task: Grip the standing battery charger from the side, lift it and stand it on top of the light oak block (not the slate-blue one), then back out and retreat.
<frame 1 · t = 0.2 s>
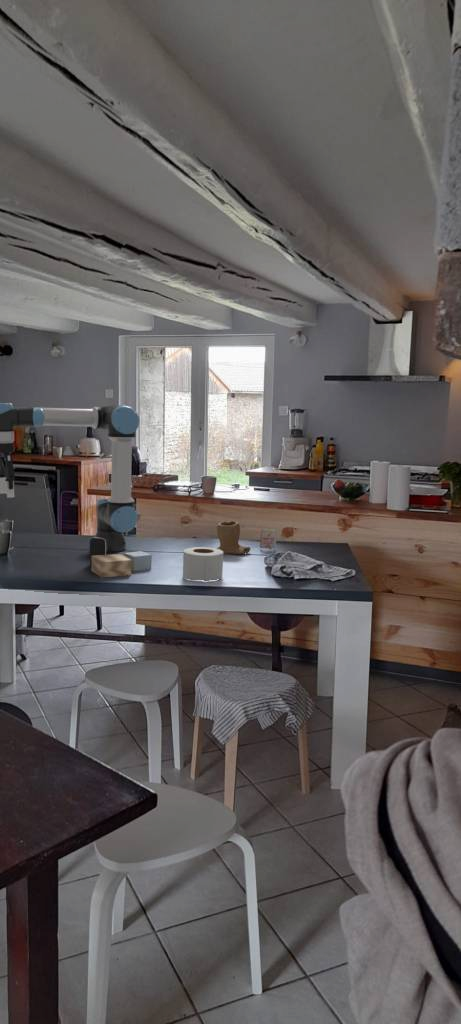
hand: (7, 495, 293), 27 cm above the table, tool pointing down, fingers open, 13 cm apart
oak block: (111, 572, 286), on the table
toilet paper roll: (202, 578, 285), on the table
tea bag: (267, 551, 344), on the table
slate-blue block: (137, 568, 297), on the table
battery charger: (98, 565, 299), on the table
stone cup: (231, 554, 333), on the table
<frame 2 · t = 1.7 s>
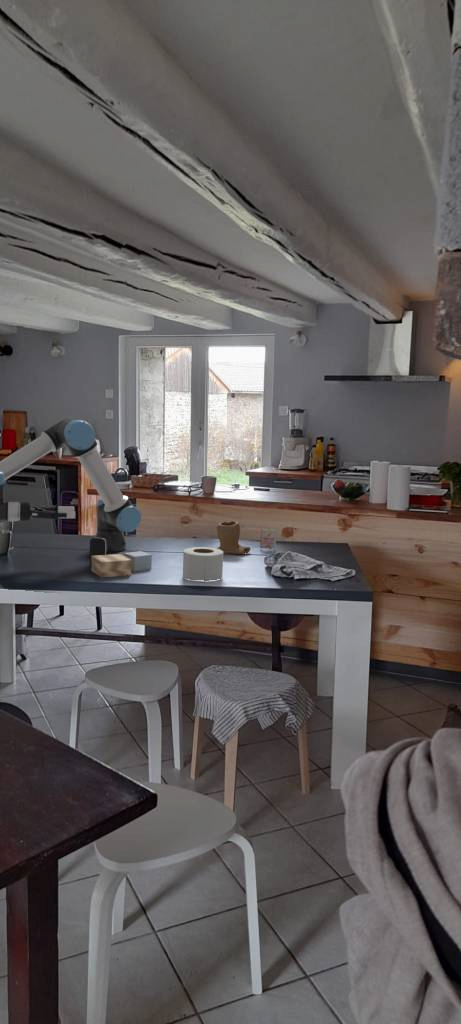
hand: (74, 512, 294), 22 cm above the table, tool horizontal, fingers open, 13 cm apart
nothing on the table moved.
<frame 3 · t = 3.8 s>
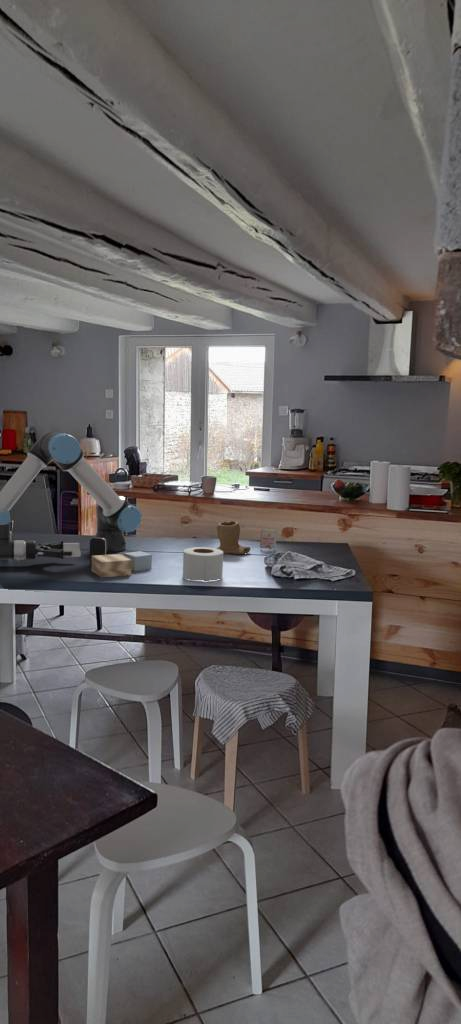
hand: (80, 549, 296), 6 cm above the table, tool horizontal, fingers open, 13 cm apart
nothing on the table moved.
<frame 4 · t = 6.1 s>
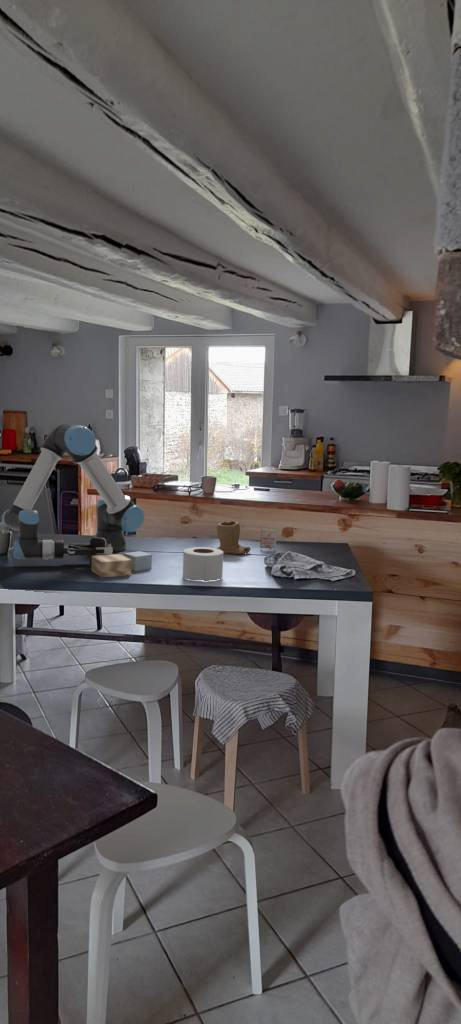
hand: (111, 549, 299), 7 cm above the table, tool horizontal, fingers closed on battery charger, 6 cm apart
battery charger: (98, 565, 299), on the table, touching gripper
everything else where it was.
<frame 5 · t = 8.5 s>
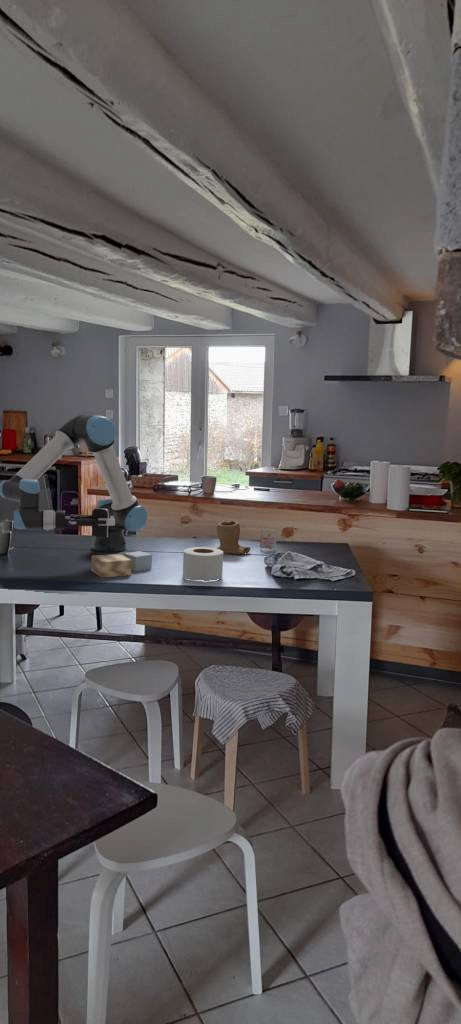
hand: (114, 520, 292), 19 cm above the table, tool horizontal, fingers closed on battery charger, 6 cm apart
battery charger: (100, 537, 292), point 13 cm above the table, touching gripper
everything else where it was.
when the fingers open (13 cm above the table, at t = 10.9 s): battery charger stays where it is, resting on oak block.
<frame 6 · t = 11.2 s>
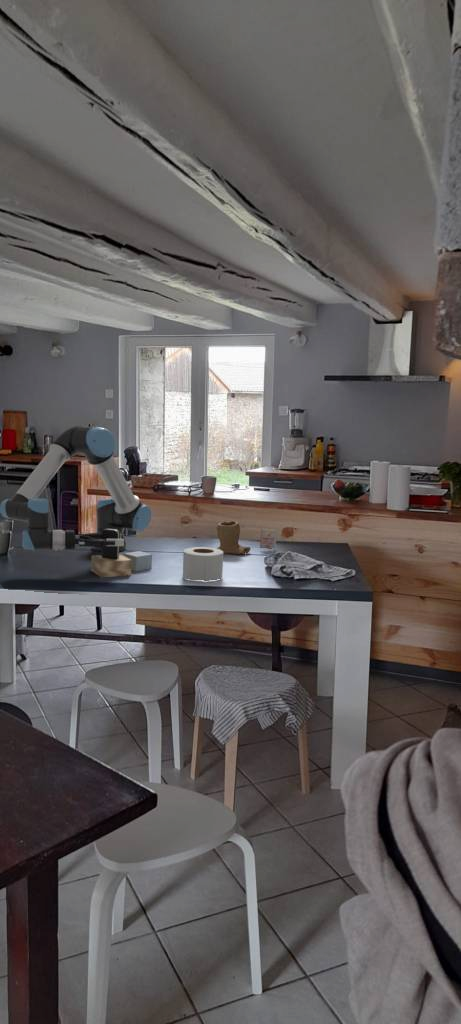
hand: (122, 539, 285), 13 cm above the table, tool horizontal, fingers open, 10 cm apart
battery charger: (111, 558, 286), point 6 cm above the table, touching oak block
everything else where it was.
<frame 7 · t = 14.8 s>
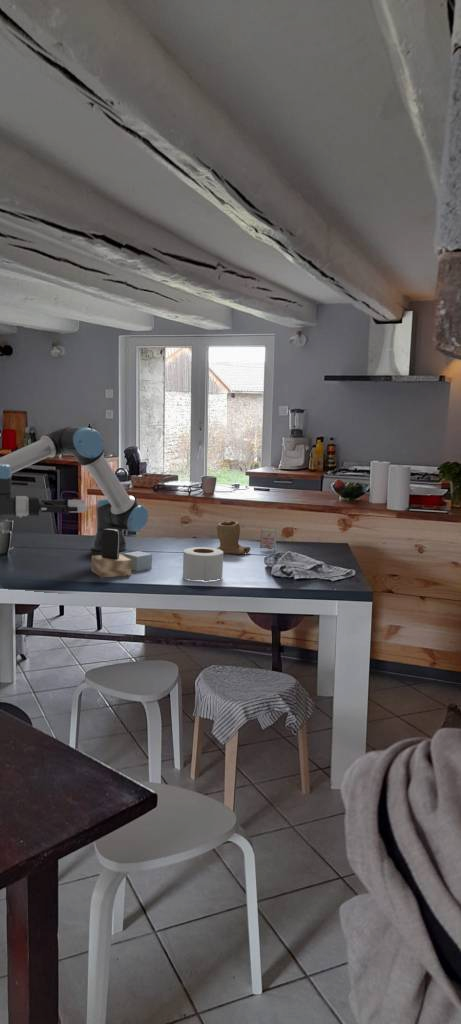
hand: (85, 505, 280), 26 cm above the table, tool horizontal, fingers open, 13 cm apart
nothing on the table moved.
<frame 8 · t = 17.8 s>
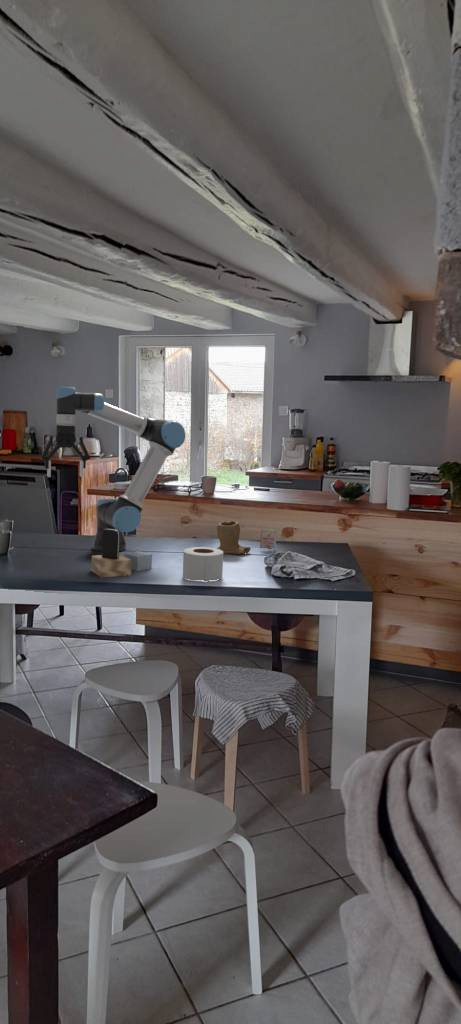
hand: (65, 476, 302), 35 cm above the table, tool pointing down, fingers open, 13 cm apart
nothing on the table moved.
at the end: battery charger inside the target area on the oak block (0.3 cm from its centre), point 5.8 cm above the oak block's base; battery charger tilted 0°; the gripper is holding nothing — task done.
